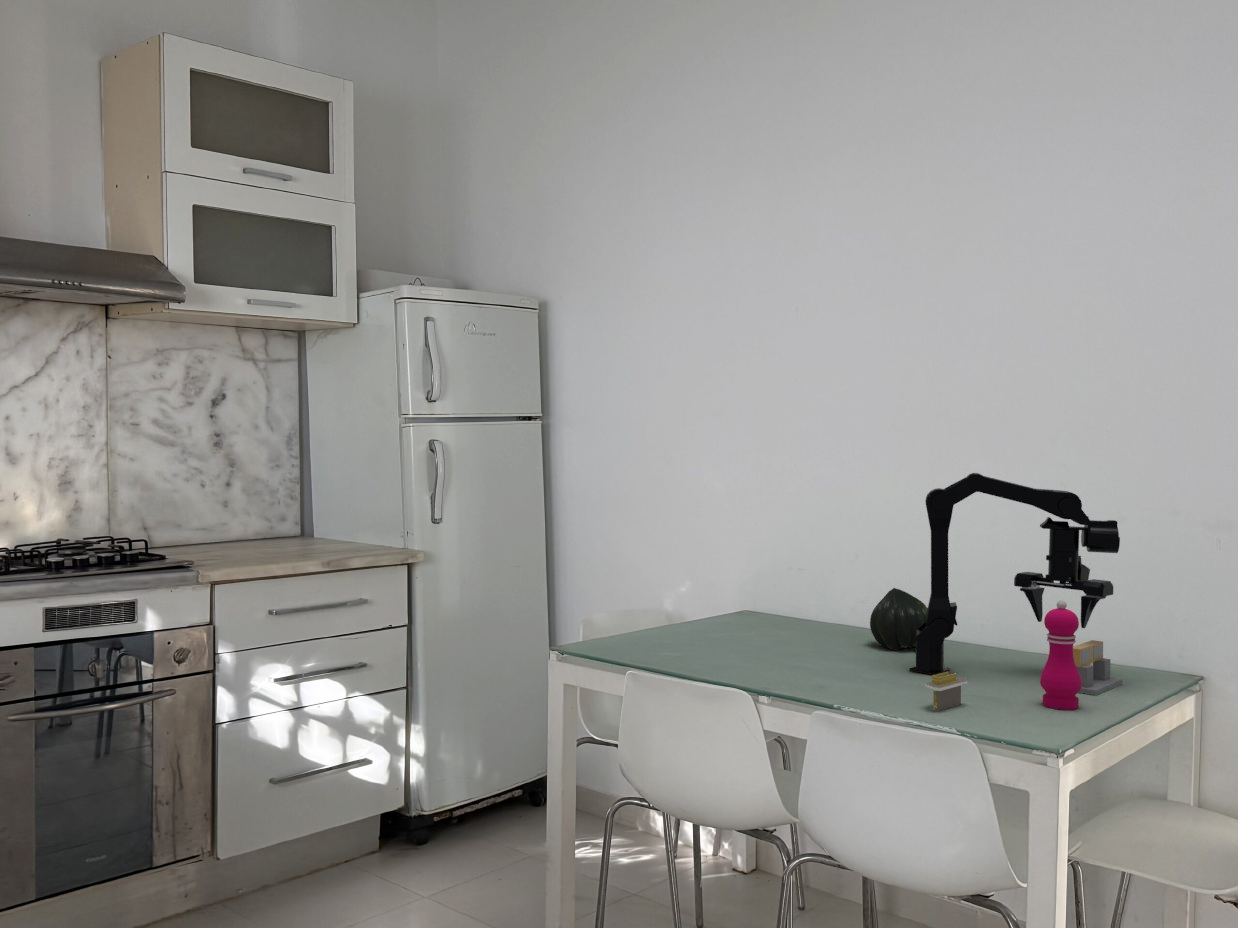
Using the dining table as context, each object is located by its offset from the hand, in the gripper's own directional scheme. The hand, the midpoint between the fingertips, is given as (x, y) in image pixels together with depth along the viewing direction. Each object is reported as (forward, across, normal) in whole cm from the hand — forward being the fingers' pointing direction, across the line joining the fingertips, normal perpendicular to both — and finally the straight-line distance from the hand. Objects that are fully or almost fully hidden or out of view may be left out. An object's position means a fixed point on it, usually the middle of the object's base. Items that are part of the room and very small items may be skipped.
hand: (1061, 624), depth 215 cm
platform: (+13, +5, +39) cm, 41 cm away
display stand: (+11, -6, +2) cm, 13 cm away
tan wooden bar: (+6, -6, +2) cm, 9 cm away
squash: (+12, +41, -5) cm, 43 cm away
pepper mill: (+12, -10, +22) cm, 27 cm away
